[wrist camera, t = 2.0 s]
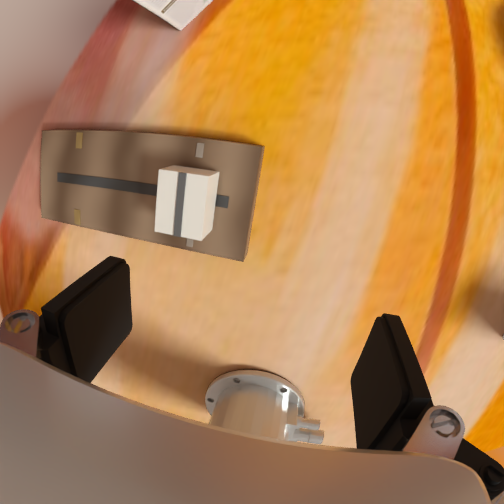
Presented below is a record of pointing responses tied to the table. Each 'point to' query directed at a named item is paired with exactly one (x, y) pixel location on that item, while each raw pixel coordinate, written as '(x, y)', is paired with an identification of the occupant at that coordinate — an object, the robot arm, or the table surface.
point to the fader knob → (186, 201)
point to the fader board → (146, 184)
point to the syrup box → (175, 10)
